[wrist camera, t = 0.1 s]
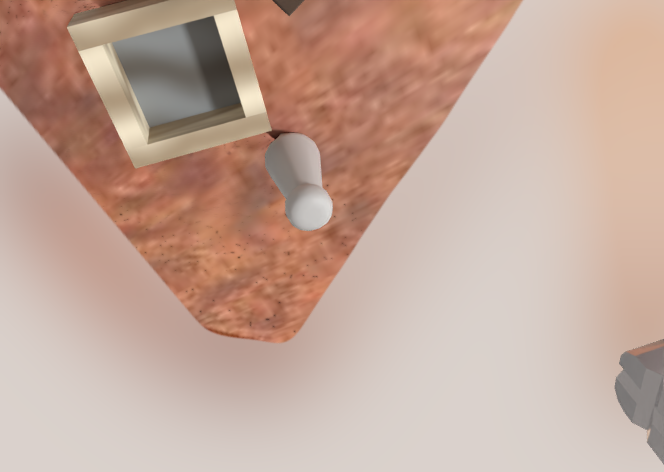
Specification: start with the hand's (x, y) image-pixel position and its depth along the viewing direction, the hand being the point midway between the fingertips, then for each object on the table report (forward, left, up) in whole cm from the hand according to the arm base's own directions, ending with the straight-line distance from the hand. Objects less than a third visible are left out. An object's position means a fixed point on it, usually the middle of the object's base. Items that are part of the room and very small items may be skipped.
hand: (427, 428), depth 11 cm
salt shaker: (+19, 0, -47) cm, 51 cm away
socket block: (+7, -8, -47) cm, 48 cm away
